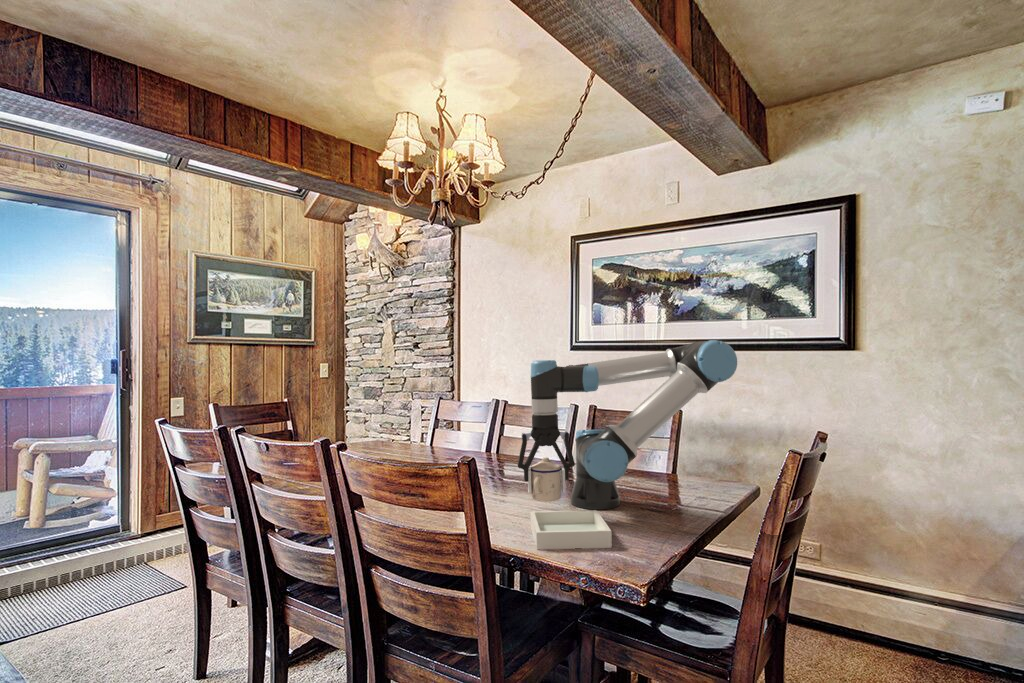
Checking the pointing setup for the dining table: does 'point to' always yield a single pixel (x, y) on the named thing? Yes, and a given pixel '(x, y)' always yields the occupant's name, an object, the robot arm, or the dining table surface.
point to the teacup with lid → (546, 481)
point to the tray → (570, 530)
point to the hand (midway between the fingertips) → (546, 491)
